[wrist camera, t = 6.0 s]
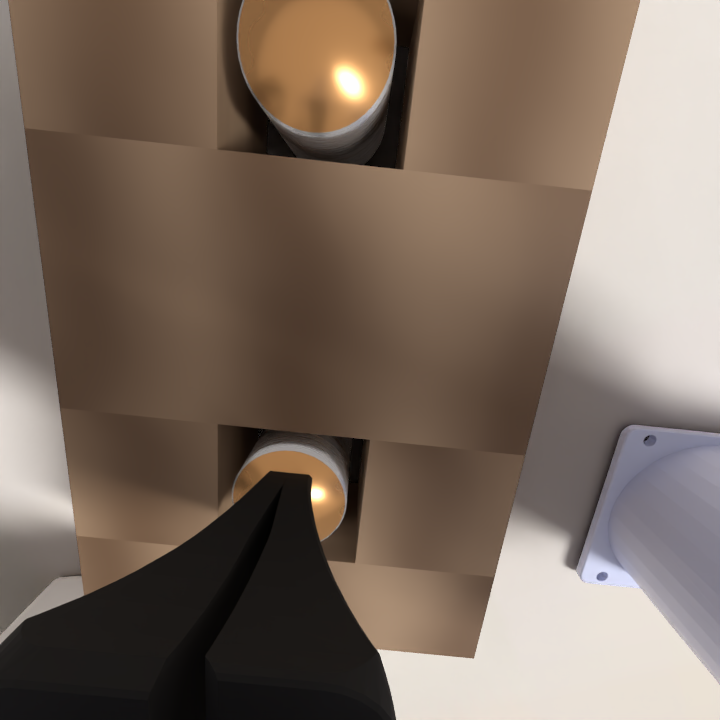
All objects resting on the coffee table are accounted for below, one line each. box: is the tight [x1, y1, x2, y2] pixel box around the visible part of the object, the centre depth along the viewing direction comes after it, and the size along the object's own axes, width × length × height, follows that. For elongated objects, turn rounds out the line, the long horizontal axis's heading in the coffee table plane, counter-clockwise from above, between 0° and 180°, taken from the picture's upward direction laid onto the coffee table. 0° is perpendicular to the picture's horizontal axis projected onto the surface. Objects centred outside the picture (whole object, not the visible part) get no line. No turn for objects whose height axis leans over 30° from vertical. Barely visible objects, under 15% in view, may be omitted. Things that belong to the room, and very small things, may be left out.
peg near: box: [237, 0, 397, 165], centre depth 10 cm, size 4×4×4 cm
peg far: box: [232, 429, 352, 542], centre depth 14 cm, size 4×4×4 cm
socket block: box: [8, 0, 640, 658], centre depth 12 cm, size 14×24×4 cm, turn 174°
